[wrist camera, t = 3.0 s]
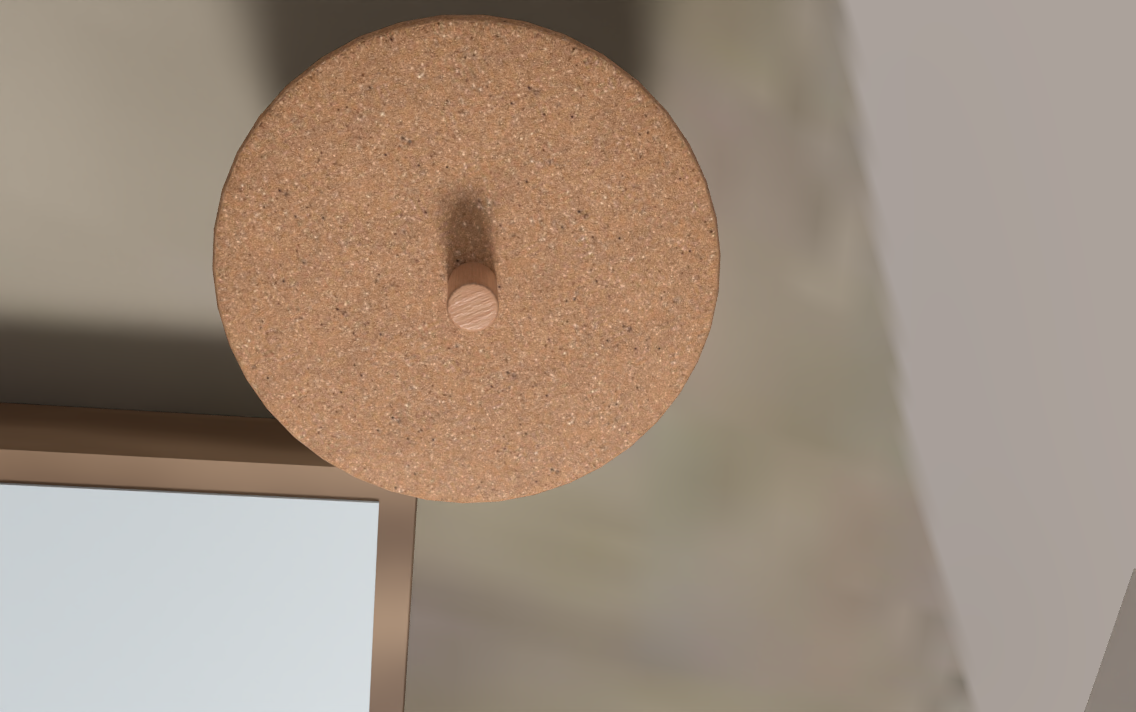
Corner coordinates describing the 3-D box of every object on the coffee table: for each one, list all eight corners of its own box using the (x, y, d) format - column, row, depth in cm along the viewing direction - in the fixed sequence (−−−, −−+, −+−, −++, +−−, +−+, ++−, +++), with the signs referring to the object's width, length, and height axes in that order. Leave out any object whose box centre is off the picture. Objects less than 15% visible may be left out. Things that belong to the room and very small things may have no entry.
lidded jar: (711, 294, 30) (809, 427, 22) (384, 432, 31) (350, 616, 22) (574, -66, 26) (626, -82, 18) (202, 101, 27) (75, 166, 18)
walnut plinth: (-145, 393, 29) (-210, 439, 26) (421, 427, 31) (417, 472, 28) (-80, 826, 35) (-129, 902, 32) (396, 831, 36) (390, 903, 34)
